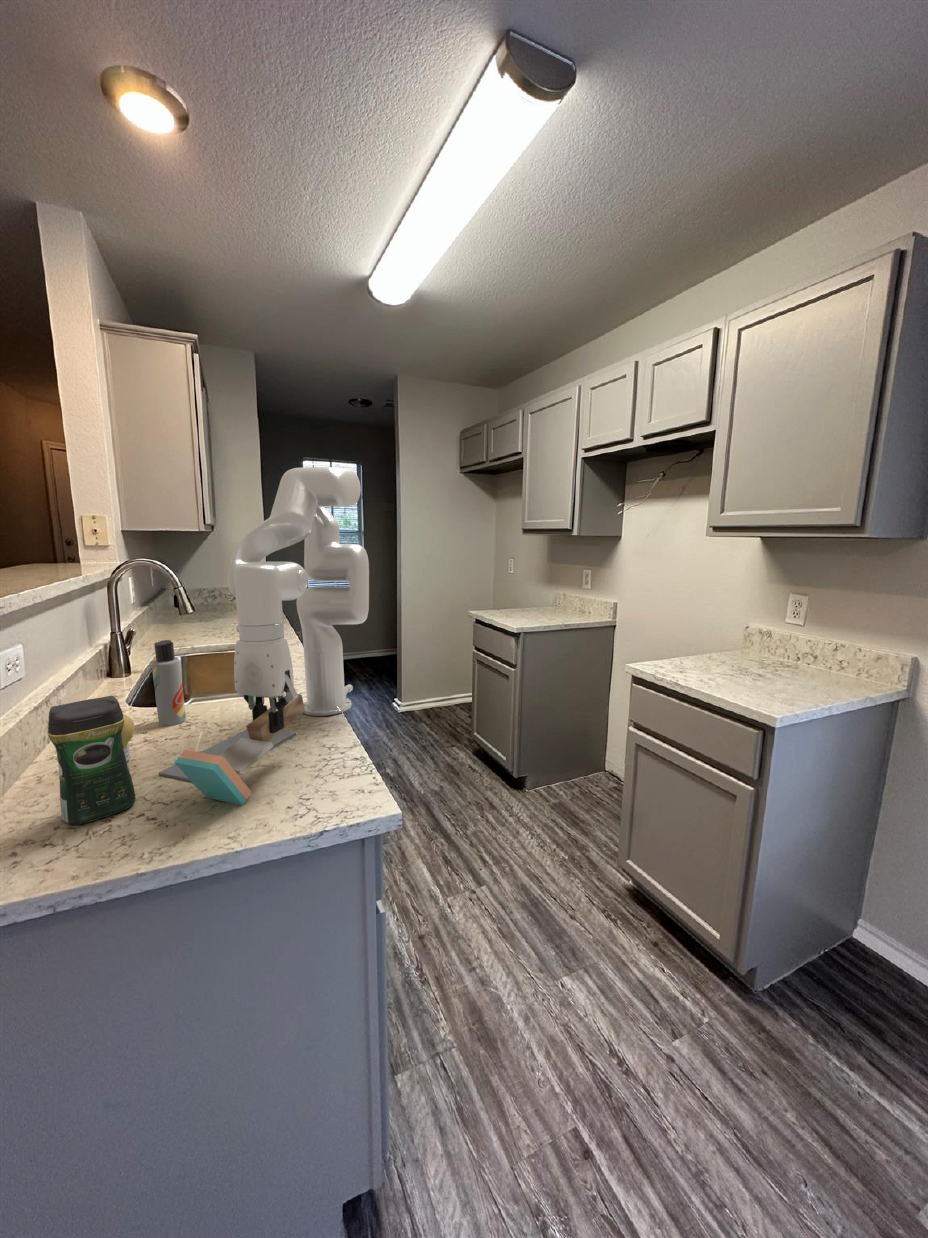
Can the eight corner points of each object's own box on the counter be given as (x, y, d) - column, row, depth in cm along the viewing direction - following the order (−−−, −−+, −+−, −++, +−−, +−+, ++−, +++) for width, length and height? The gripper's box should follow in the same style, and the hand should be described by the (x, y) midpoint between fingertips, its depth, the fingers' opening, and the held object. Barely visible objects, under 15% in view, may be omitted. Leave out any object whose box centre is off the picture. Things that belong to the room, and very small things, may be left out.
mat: (253, 728, 113) (253, 726, 113) (296, 734, 109) (296, 732, 109) (159, 775, 90) (158, 772, 90) (208, 785, 86) (207, 782, 86)
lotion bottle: (191, 718, 120) (182, 638, 117) (175, 726, 114) (166, 643, 111) (169, 717, 120) (160, 638, 117) (153, 726, 115) (143, 643, 112)
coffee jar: (131, 791, 85) (118, 688, 82) (139, 809, 79) (125, 699, 76) (59, 812, 78) (42, 701, 75) (63, 833, 72) (44, 715, 70)
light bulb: (94, 773, 91) (87, 723, 90) (104, 760, 97) (97, 712, 95) (134, 767, 94) (128, 718, 92) (141, 754, 100) (135, 707, 98)
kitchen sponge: (215, 785, 84) (184, 749, 78) (251, 792, 82) (223, 756, 75) (205, 797, 82) (174, 762, 76) (243, 805, 80) (213, 769, 74)
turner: (284, 707, 99) (281, 692, 98) (313, 711, 97) (309, 695, 96) (208, 768, 82) (202, 751, 81) (240, 774, 80) (235, 756, 78)
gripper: (210, 634, 87) (219, 731, 90) (284, 639, 81) (291, 743, 84) (241, 627, 94) (249, 718, 97) (312, 631, 88) (318, 727, 91)
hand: (269, 728), depth 90 cm, fingers closed on turner, 3 cm apart
